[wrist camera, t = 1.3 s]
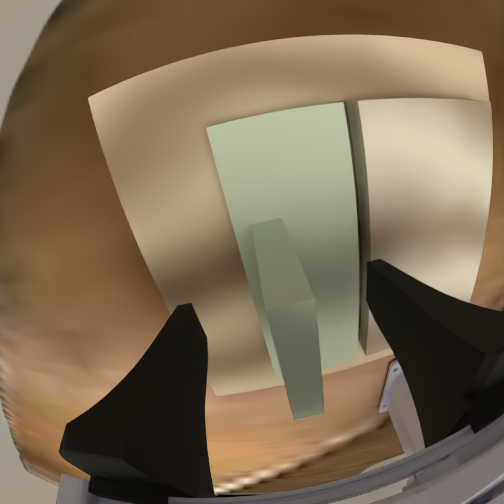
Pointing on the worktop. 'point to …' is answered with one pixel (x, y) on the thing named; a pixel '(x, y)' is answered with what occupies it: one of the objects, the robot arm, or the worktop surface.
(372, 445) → the worktop surface
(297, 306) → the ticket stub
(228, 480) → the worktop surface
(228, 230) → the board
